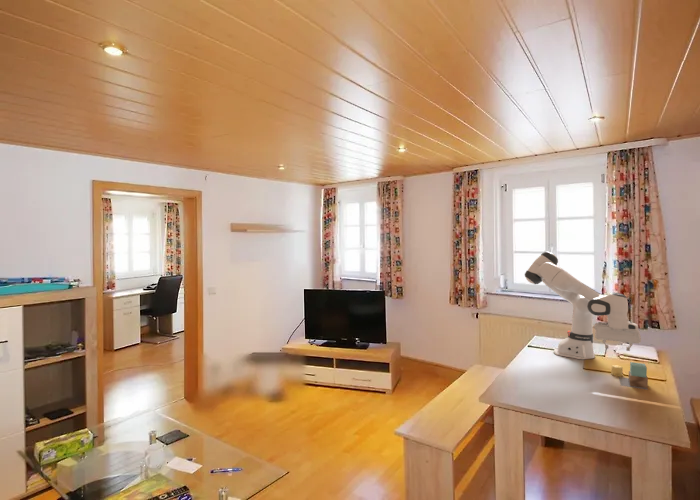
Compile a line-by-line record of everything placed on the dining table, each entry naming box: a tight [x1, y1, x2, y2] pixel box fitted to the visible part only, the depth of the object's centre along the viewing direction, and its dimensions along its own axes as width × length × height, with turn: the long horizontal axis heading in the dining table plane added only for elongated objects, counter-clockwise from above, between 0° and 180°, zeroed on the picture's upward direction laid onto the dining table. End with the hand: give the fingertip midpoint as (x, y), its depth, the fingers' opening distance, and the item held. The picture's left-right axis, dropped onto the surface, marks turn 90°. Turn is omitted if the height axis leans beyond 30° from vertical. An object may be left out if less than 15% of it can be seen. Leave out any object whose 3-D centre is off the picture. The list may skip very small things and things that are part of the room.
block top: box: [629, 361, 648, 378], centre depth 198 cm, size 6×6×5 cm
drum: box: [610, 364, 624, 377], centre depth 212 cm, size 5×5×5 cm
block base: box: [628, 370, 649, 388], centre depth 198 cm, size 7×7×5 cm
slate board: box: [618, 376, 649, 391], centre depth 200 cm, size 11×13×1 cm
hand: (617, 349), depth 211 cm, fingers open, 8 cm apart
